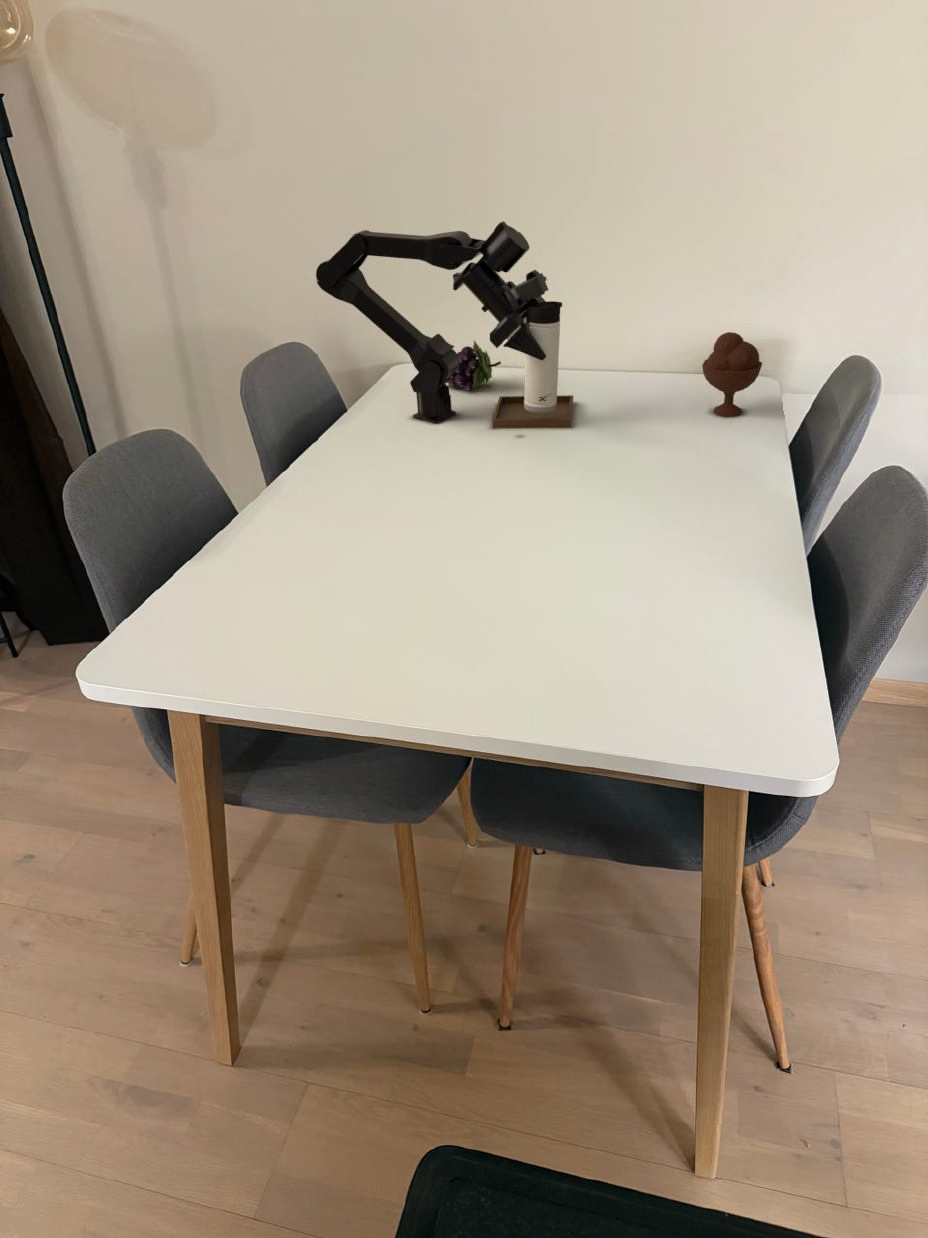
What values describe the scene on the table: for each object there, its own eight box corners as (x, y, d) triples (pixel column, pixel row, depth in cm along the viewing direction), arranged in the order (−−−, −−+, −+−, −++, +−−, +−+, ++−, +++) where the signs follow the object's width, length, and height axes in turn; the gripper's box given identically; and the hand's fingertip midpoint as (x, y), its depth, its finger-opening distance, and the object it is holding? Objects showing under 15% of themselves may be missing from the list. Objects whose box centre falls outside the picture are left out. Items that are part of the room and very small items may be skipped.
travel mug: (548, 415, 171) (552, 306, 160) (518, 410, 174) (520, 302, 163) (563, 406, 175) (568, 299, 165) (533, 400, 178) (536, 295, 168)
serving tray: (492, 428, 176) (492, 419, 175) (499, 404, 188) (499, 396, 187) (571, 427, 173) (571, 419, 173) (573, 403, 185) (573, 395, 184)
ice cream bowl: (694, 419, 173) (701, 340, 165) (704, 401, 182) (711, 325, 174) (752, 423, 170) (761, 343, 162) (759, 404, 178) (768, 327, 170)
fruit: (448, 395, 204) (511, 379, 199) (435, 402, 195) (501, 385, 190) (435, 349, 201) (499, 332, 196) (422, 355, 191) (489, 336, 187)
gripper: (505, 269, 154) (567, 337, 157) (535, 248, 169) (591, 311, 171) (463, 314, 161) (523, 379, 163) (495, 290, 175) (550, 350, 178)
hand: (549, 353), depth 169 cm, fingers closed on travel mug, 6 cm apart
